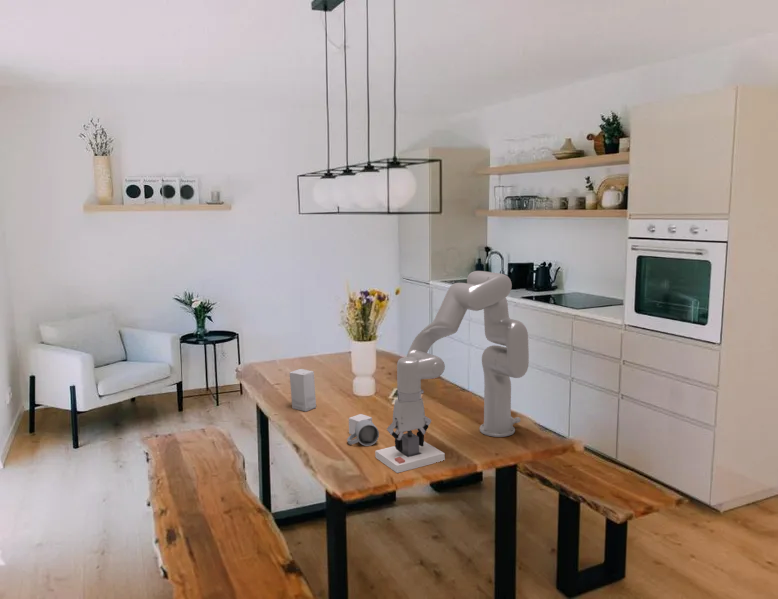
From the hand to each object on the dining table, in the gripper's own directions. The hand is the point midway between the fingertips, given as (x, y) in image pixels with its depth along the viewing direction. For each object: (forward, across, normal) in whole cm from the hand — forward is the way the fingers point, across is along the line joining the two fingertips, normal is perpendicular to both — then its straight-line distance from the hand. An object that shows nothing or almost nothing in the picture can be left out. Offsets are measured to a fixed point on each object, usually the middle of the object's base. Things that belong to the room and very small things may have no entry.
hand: (409, 447), depth 208 cm
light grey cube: (+4, +3, -29) cm, 29 cm away
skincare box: (+4, +10, -66) cm, 67 cm away
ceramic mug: (+4, +6, -21) cm, 22 cm away
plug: (+4, 0, 0) cm, 4 cm away
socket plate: (+4, 0, 0) cm, 4 cm away
